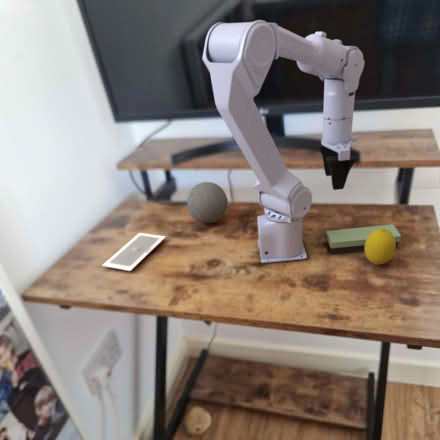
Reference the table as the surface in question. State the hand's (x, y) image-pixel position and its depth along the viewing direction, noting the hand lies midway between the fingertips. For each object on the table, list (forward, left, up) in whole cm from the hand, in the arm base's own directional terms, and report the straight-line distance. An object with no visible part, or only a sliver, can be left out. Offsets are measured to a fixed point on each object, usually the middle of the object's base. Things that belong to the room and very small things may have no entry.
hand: (334, 181), depth 88 cm
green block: (+4, -11, -10) cm, 15 cm away
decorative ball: (-29, +8, -11) cm, 32 cm away
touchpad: (-46, -5, -11) cm, 47 cm away
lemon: (+5, -18, -11) cm, 21 cm away
